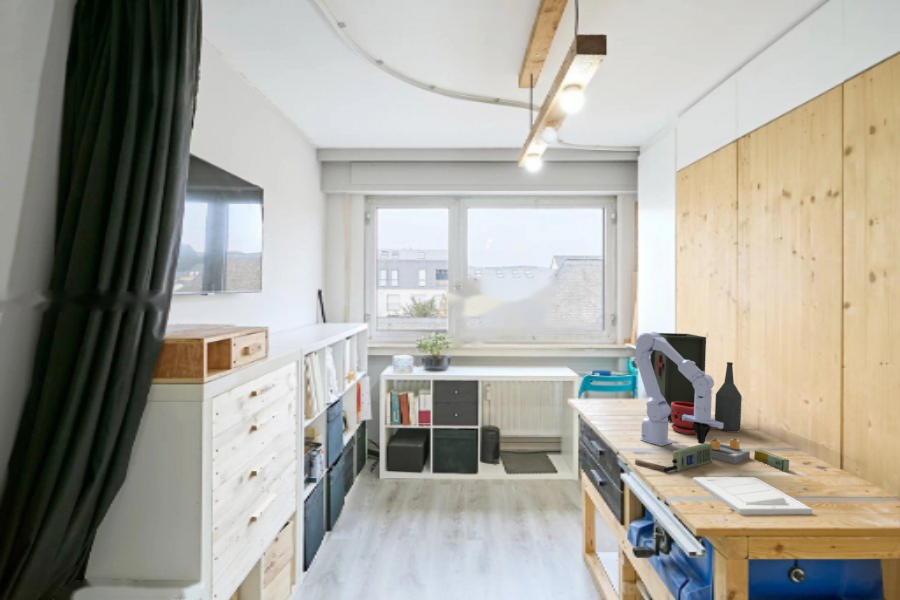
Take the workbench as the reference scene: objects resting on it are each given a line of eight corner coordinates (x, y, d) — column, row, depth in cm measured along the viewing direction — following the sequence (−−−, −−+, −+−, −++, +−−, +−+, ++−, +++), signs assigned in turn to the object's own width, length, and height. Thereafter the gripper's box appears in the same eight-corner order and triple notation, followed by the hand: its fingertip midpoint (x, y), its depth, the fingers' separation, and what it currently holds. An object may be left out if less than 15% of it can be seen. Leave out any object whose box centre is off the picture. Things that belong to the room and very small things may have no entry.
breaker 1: (709, 448, 179) (710, 439, 179) (713, 447, 181) (713, 438, 181) (716, 450, 178) (716, 440, 177) (719, 448, 179) (720, 439, 179)
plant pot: (705, 437, 203) (706, 409, 203) (670, 433, 208) (671, 405, 208) (701, 429, 215) (702, 402, 215) (669, 425, 220) (670, 399, 220)
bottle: (731, 426, 222) (734, 360, 221) (745, 432, 212) (748, 364, 212) (709, 425, 222) (712, 360, 221) (722, 432, 212) (725, 363, 211)
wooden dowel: (636, 464, 170) (634, 464, 169) (637, 458, 170) (635, 459, 169) (666, 472, 163) (664, 472, 162) (666, 466, 163) (664, 466, 162)
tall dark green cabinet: (703, 421, 228) (706, 337, 228) (663, 420, 229) (666, 336, 228) (684, 412, 247) (687, 333, 246) (648, 411, 247) (650, 332, 246)
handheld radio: (713, 463, 172) (669, 475, 159) (704, 460, 175) (660, 472, 162) (713, 444, 173) (669, 455, 160) (704, 442, 175) (660, 452, 162)
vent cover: (813, 503, 133) (740, 503, 132) (812, 515, 133) (740, 516, 132) (755, 472, 156) (692, 472, 154) (755, 482, 156) (692, 483, 154)
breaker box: (700, 454, 181) (700, 447, 181) (715, 448, 188) (716, 442, 188) (734, 464, 171) (734, 456, 171) (749, 458, 178) (749, 450, 178)
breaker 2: (729, 447, 180) (730, 438, 180) (732, 446, 182) (733, 437, 182) (736, 449, 179) (736, 440, 178) (739, 448, 180) (739, 439, 180)
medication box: (789, 471, 166) (790, 460, 166) (783, 472, 165) (783, 460, 165) (759, 459, 178) (760, 448, 178) (753, 459, 177) (753, 449, 177)
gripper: (727, 410, 179) (726, 446, 180) (689, 402, 191) (688, 436, 191) (718, 412, 175) (717, 449, 176) (679, 404, 187) (678, 439, 187)
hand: (701, 443), depth 183 cm, fingers closed
